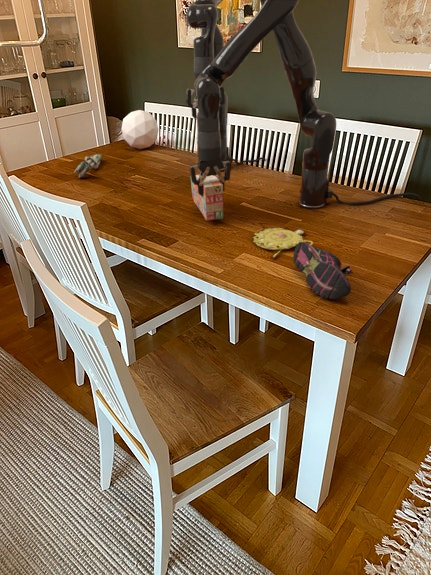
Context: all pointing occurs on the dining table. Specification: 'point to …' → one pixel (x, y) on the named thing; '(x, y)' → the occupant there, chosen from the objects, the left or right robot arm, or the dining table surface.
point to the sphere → (139, 129)
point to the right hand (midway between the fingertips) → (211, 193)
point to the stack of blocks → (209, 197)
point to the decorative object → (279, 239)
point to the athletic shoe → (322, 271)
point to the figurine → (88, 164)
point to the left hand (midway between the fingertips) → (206, 117)
